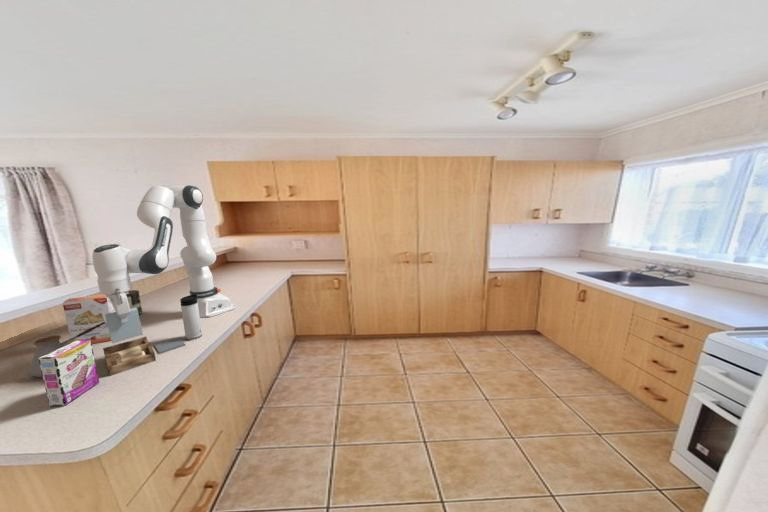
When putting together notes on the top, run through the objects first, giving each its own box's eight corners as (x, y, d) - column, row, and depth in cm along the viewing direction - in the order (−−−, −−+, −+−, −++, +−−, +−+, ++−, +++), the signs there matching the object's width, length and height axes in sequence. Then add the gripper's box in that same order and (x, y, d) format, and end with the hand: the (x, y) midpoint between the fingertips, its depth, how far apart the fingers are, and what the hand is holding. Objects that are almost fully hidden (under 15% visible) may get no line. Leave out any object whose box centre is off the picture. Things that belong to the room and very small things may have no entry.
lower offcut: (145, 358, 108) (143, 350, 108) (147, 362, 106) (145, 354, 105) (117, 367, 102) (115, 359, 101) (119, 371, 100) (117, 363, 99)
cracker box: (71, 348, 116) (60, 302, 112) (79, 341, 121) (69, 297, 117) (115, 340, 122) (106, 297, 118) (120, 335, 127) (112, 293, 123)
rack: (147, 346, 117) (146, 336, 116) (155, 360, 107) (153, 348, 106) (105, 359, 107) (103, 348, 106) (109, 375, 97) (107, 363, 96)
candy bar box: (66, 406, 82) (54, 357, 79) (49, 407, 82) (36, 358, 79) (101, 382, 93) (91, 339, 90) (85, 383, 93) (75, 339, 90)
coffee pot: (26, 385, 92) (14, 345, 89) (34, 370, 100) (24, 333, 97) (113, 361, 106) (106, 326, 103) (114, 349, 114) (107, 317, 111)
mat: (179, 338, 124) (179, 337, 124) (185, 345, 118) (185, 344, 118) (154, 345, 118) (154, 344, 118) (159, 353, 111) (159, 352, 111)
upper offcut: (139, 352, 106) (138, 345, 106) (142, 354, 105) (141, 347, 104) (119, 359, 101) (117, 352, 101) (121, 362, 100) (120, 354, 99)
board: (141, 331, 113) (135, 307, 110) (142, 334, 110) (137, 309, 108) (111, 340, 106) (104, 314, 104) (112, 343, 103) (105, 317, 101)
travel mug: (205, 335, 127) (200, 295, 123) (191, 341, 121) (184, 299, 118) (197, 332, 130) (192, 293, 126) (182, 338, 124) (176, 297, 120)
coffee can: (139, 312, 154) (135, 288, 152) (146, 316, 149) (141, 292, 146) (115, 318, 146) (110, 293, 143) (121, 323, 140) (116, 297, 138)
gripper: (131, 290, 99) (138, 324, 102) (123, 280, 112) (130, 310, 115) (107, 294, 95) (115, 330, 97) (101, 283, 108) (109, 315, 110)
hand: (123, 319), depth 106 cm, fingers closed on board, 4 cm apart
